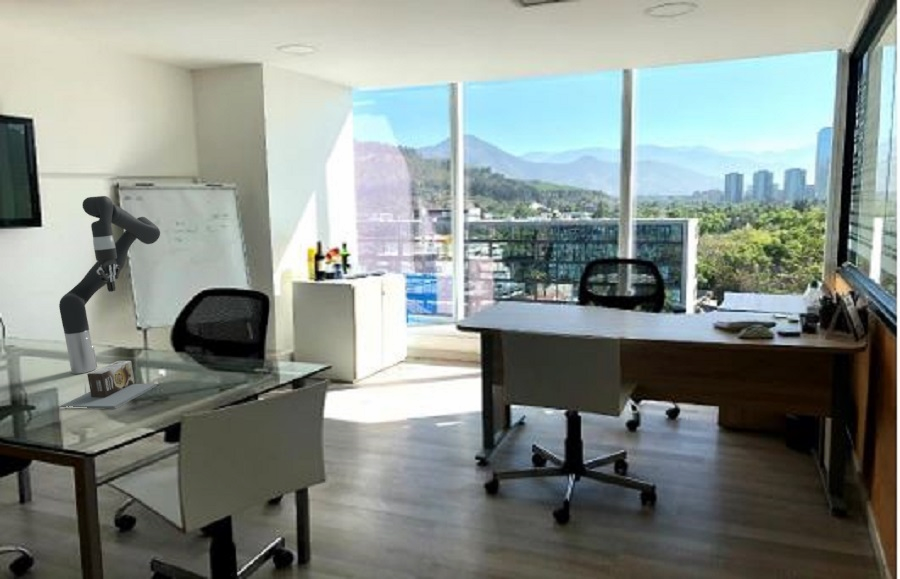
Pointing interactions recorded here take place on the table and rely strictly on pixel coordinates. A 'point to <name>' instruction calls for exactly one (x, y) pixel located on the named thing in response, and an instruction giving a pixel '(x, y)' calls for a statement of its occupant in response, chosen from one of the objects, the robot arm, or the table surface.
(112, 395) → the mat
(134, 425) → the table surface
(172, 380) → the table surface
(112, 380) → the coffee box
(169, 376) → the table surface
